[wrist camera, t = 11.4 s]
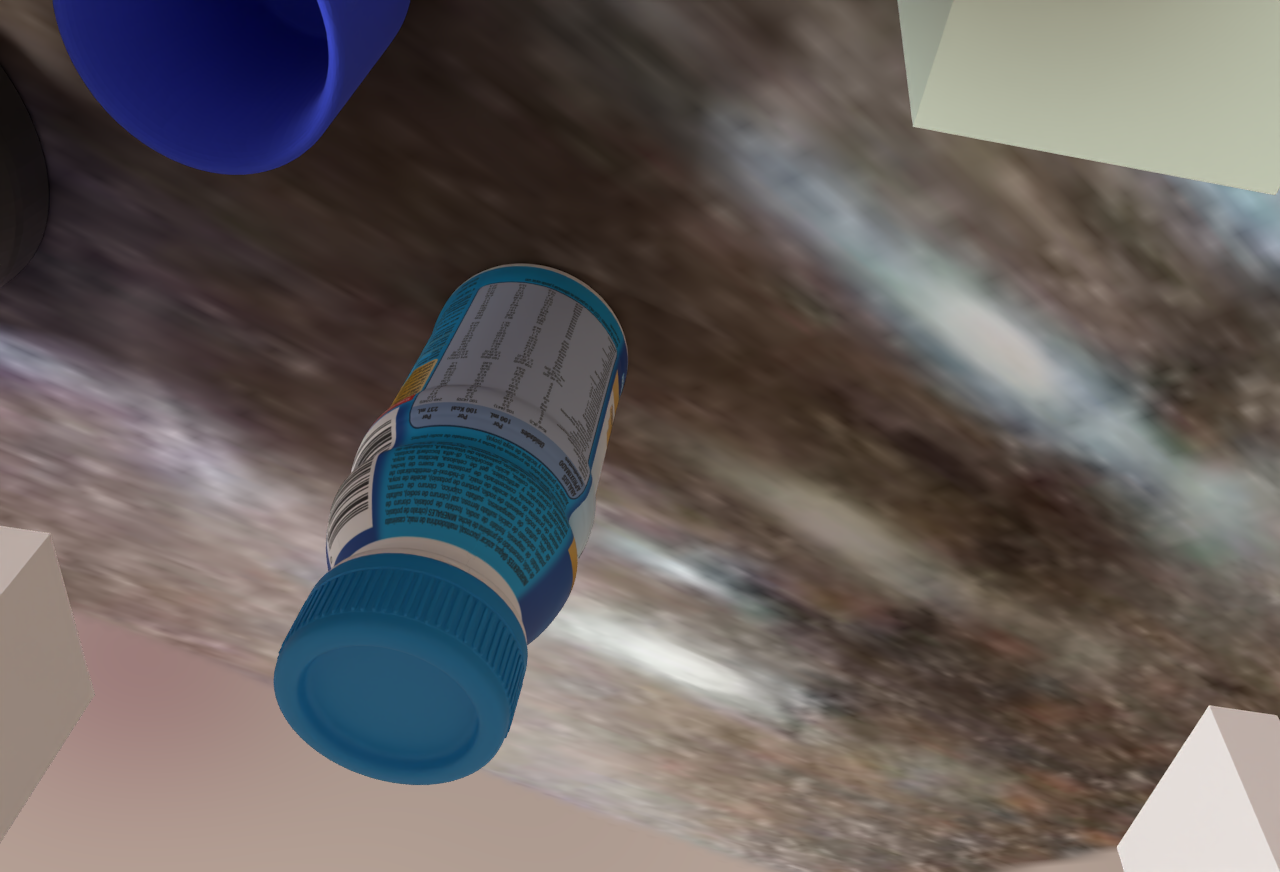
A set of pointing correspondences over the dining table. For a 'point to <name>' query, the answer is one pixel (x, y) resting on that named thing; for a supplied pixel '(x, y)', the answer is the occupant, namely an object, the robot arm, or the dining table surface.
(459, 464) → the beverage bottle
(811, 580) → the dining table surface
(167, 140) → the mug
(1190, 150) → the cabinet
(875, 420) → the dining table surface
